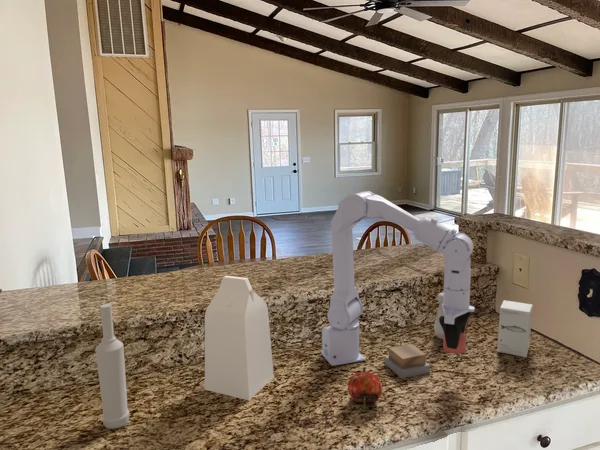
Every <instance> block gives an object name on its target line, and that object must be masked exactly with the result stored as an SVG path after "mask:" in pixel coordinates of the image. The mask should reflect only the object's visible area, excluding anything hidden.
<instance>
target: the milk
mask: <svg viewBox="0 0 600 450" xmlns="http://www.w3.org/2000/svg"><path fill="white" fill-rule="evenodd" d="M269 319H270V318H269V307H268V304H267V303H266V301H265V300H264V299H263V298H262V297H261V296H260V295H258V294H257V292H255V291H254V290H253V287H252V284H251V283H250V280H249V278H248V277H242V276H236V275H235V276H233V275H225V276H223V277H222V279H221V282H220V284H219V288H218V290H217V291H216V292H215V294H214V296H213V298H212V299H211V301H210V303H209V305H208V307H207V309H206V310H205V314H204V390H205V391H208V392H212V393H213V392H214V393H217V394H219V395H220V394H222V395H225V396H228V397H229V396H230V397H234V398H236V399H237V398H238V399H241V400H245V401H251V400H252V398H254V397H255V396H256V395H257V394H258V393H259V392H260V391H261V390H262V389H263V388H265V387H266V385H267V384H268V383H269V382H271V380H272V379H274V378H275V376H274V374H275V373H274V363H273V362H274V361H273V354H272V353H273V352H272V343H271V342H272V340H271V330H270V329H271V328H270V320H269Z"/></svg>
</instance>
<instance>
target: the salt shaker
mask: <svg viewBox="0 0 600 450" xmlns="http://www.w3.org/2000/svg"><path fill="white" fill-rule="evenodd" d="M443 294H444V291H443V292H439V293H438V294H437V302H439V305H438V309H437V312H436V313H437V314H436V317H435V322H434V326H433V330H434V333H435V335H436V338H437V339H440V340H444V331H443V328H442V326H441V324H440V323H439V318H440V316H445V314H444V311H443V308H442V304H443Z"/></svg>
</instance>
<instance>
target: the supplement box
mask: <svg viewBox="0 0 600 450" xmlns="http://www.w3.org/2000/svg"><path fill="white" fill-rule="evenodd" d="M533 306H534V304H531V303H527V302H526V303H524V302H518V301H512V300H505V299H504V300H503V301H502V303H501V305H500V308H499V320H498V322H499V323H498V335H497V336H498V337H497V347H496V348H497V350H496V351H497V353H504V354H509V355H514V356H518V357H523V358H527V357H528V354H529V349H530V339H531V329H532V328H531V327H532V317H533V316H532V314H533Z"/></svg>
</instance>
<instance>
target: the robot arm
mask: <svg viewBox="0 0 600 450" xmlns="http://www.w3.org/2000/svg"><path fill="white" fill-rule="evenodd" d="M337 204H338V208H337V210H336V212H335V213H334V215H333V218H332V220H331V222H330V229H331V231H330V232H331V249H332V267H333V268H332V270H333V288H334V289H333V293H332V295H331V298H330V300H329V309H328V310H327V314H326V315H327V316H326V317H327V320H328V322H329V324H330V325H328V326H326V327H323V328H322V330H321V349H322V350H321V352H320V354H321V355H322V356H323V357H324V359H325V360H326V361H327V362H328V363H329V364H330V366H333V367H334V366H340V365H341V366H342V365H345V364H346V365H347V364H350V363H357V362H363V361H365V360H366V357H364V355H362V353H360V321H359V317H361V316H362V312H363V309H364V307H363V303H362V302H361V299H360V295H359V290H357V288H356V286H355V285H356V283H355V263H354V260H355V259H354V239H353V229H354V227H355V226H357V225H358V224H359V223H360V222H361V221H362V220H363V219H365V218H367V219H368V218H381V217H382V218H384V219H387V220H388V221H390V222H392V223H395V224H396V225H399V226H401V227H403V228H404V229H407V230H409V231H410V232H412V233H413V236H414V239H415V240H416V241H418V242H420V243H422V244H423V245H426V246H427V247H429V248H431V249H433V250H435V251H436V252H438V253H441V254H442V256H443V258H444V259H445V261H444V263H445V265H444V268H443V269H444V270H443V271H444V273H443V292H444V294H443V304H442V308H443V311H444V314H445V316H440V318H439V323H440V324H441V326H442V328H443V331H444V335H445V340H446V344H447V347H448V348H453V349H457V346H458V343H459V338H460V334H461V332H463V333H465V329H466V325H467V322H468V320H469V317H470V315H472V313H474V312H475V310H476V308H475V306H473V305H470V301H471V300H470V299H471V278H472V277H471V275H472V274H471V273H472V268H471V265H472V261H471V260H472V259H471V254H472V253H473V251H474V242H473V240H472V239H471V237H469V235H467V234H466V233H464V232H458V230H456V229H455V228H452V229H451V228H448V227H447V226H444V225H442V224H441V223H439V222H438V221H439V220H438V219H437V218H435V217H432V218H429V217H424V218H422V219H421V218H418V217H416V216H414V215H413V214H411V213H409V211H406V210H404V209H403V208H401V207H400V206H398V205H396V204H394V203H393V202H391V201H390V200H388V199H386V198H385V197H383V196H381V195H380V194H375V193H373V192H372V191H369V190H361V191H360V192H358V193H356V192H355V193H351V194H348V195H346V196H345V197H343V198H342V199H341V200H340V201H339V202H338V203H337Z"/></svg>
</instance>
